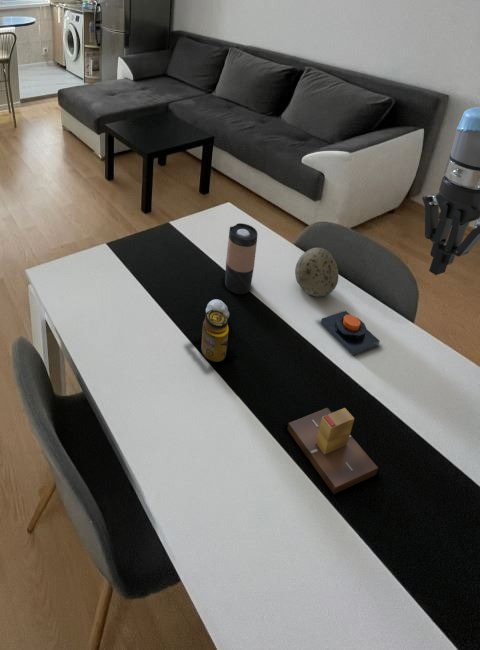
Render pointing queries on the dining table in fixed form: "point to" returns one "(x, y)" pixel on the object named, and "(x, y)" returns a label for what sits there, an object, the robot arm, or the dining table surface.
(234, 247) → the travel mug
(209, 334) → the condiment
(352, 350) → the switch block
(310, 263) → the decorative egg
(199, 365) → the dining table surface
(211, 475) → the dining table surface
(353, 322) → the button
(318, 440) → the yellow upright flat block
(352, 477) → the brown wooden flat block
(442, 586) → the dining table surface
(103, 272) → the dining table surface
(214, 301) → the white lumpy ball
